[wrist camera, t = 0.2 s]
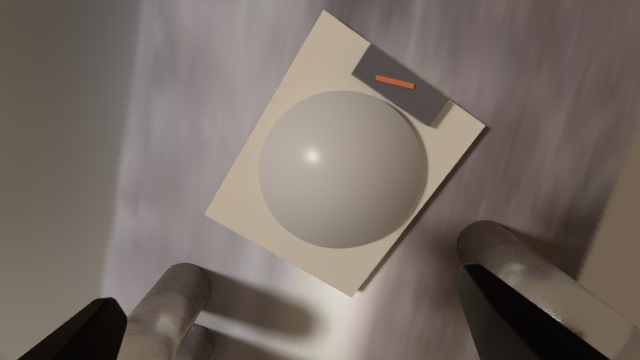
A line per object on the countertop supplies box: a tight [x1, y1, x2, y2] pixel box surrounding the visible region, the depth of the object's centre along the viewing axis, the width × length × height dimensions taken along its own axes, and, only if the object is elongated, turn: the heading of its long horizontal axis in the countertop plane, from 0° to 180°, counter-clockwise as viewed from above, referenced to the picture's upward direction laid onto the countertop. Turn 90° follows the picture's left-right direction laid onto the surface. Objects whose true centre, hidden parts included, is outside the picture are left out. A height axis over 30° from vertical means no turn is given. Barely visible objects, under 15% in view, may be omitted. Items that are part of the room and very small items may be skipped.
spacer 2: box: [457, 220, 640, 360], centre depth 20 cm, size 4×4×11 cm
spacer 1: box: [117, 263, 211, 360], centre depth 21 cm, size 4×4×11 cm
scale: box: [204, 10, 485, 297], centre depth 22 cm, size 16×13×2 cm
